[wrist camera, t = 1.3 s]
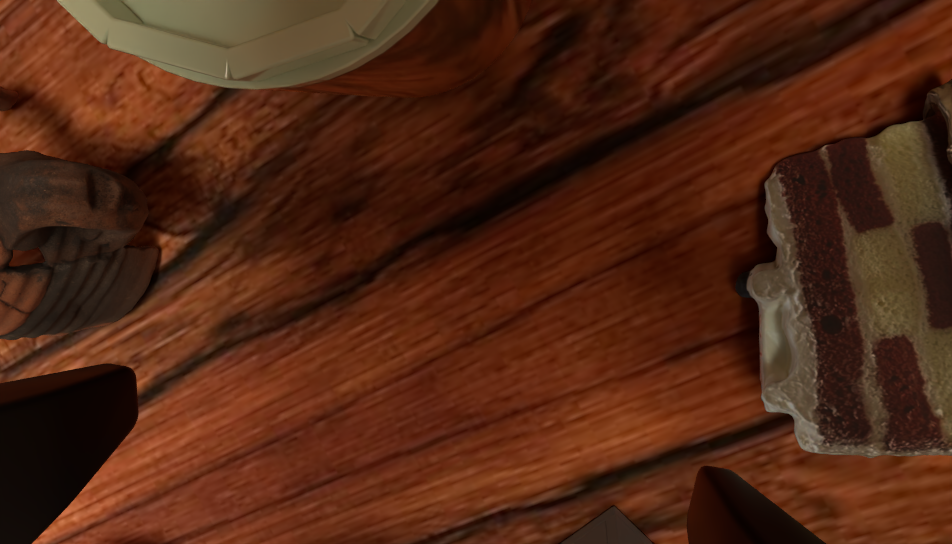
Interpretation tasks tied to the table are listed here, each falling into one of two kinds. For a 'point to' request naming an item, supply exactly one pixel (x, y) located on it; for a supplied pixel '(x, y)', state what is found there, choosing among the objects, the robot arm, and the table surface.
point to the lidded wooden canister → (311, 41)
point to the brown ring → (68, 244)
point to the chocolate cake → (862, 291)
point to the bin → (609, 531)
